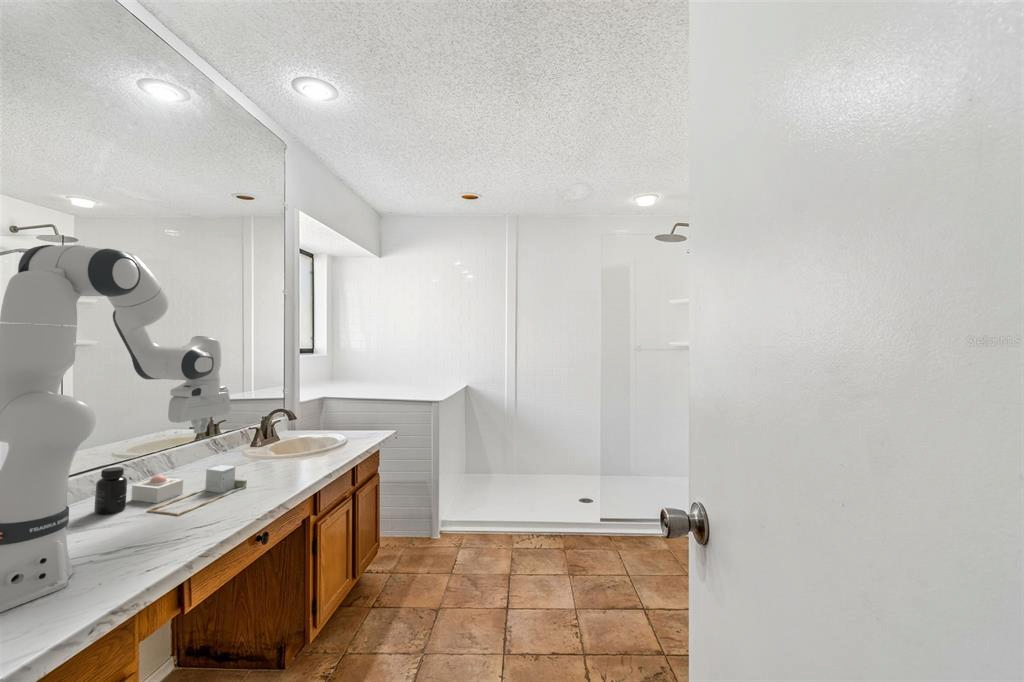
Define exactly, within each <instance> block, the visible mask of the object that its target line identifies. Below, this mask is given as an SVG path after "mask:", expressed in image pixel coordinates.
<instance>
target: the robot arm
mask: <svg viewBox="0 0 1024 682" xmlns="http://www.w3.org/2000/svg"><path fill="white" fill-rule="evenodd" d="M17 270H18V271H17V273H15V274H14V275H13V276H12V277H11V278H10V279H9V281H8V283H7V286H6V289H5V292H4V295H3V299H2V304H1V310H0V442H2V443H6V444H8V450H7V453H6V456H5V459H4V462H3V464H2V465H1V468H0V613H2V612H5V611H7V610H11V609H12V608H13V609H14V608H16V607H17V606H20V605H23V604H25V603H28V602H31V601H33V600H36V599H38V598H42V597H43V596H46V595H49V594H51V593H54V592H57V591H58V590H62V589H64V588H66V587H67V586H68V585H69V580H68V579H69V578H70V577H71V576H72V575H73V574H74V568H73V565H72V563H71V560H70V555H69V550H68V542H67V527H68V525H69V523H70V522H69V521H70V507H69V505H68V504H67V503H68V492H69V491H68V490H69V478H70V477H69V476H70V472H71V467H72V464H73V461H74V459H75V456H76V454H77V451H78V449H79V447H80V445H81V444H82V443H83V442H84V441H85V440H87V439H88V438H89V437H90V436H91V434H92V433H93V431H94V430H95V427H96V425H97V424H96V423H97V422H96V421H97V416H96V413H95V411H94V409H93V408H92V407H91V406H90V405H88V404H86V403H85V402H83V401H81V400H80V399H77V398H75V397H72V396H70V395H67V394H59V388H60V386H61V383H62V381H63V379H64V375H66V372H67V371H68V370H69V369H70V368H71V367H72V366H73V365H74V364H75V360H76V351H77V350H76V349H77V329H78V310H77V309H78V307H77V303H78V301H79V299H80V298H81V297H106V298H107V299H108V301H109V302H110V303H111V305H112V306H113V308H114V310H113V312H112V321H113V324H114V327H115V329H116V331H117V332H118V334H119V337H120V338H121V340H122V342H123V344H124V346H125V347H126V349H127V351H128V353H129V355H130V357H131V361H132V366H133V369H134V371H135V372H136V374H137V375H138V376H140V377H141V378H142V379H144V380H150V381H151V380H174V381H178V380H179V381H185V382H183V383H182V384H180V385H177V386H176V387H173V388H171V389H170V396H172V397H171V398H170V399H169V403H168V412H167V419H168V420H169V422H171V423H178V424H180V423H185V422H190V423H191V425H192V427H193V433H194V434H203V433H206V432H207V429H208V428H207V427H208V425H209V424H210V422H211V417H213V418H214V417H218V416H223V415H228V414H229V413H230V411H231V400H230V399H231V397H230V394H229V389H228V388H227V387H226V386H224V385H223V386H222V385H221V377H220V370H221V366H222V347H221V343H220V340H218V339H216V338H214V337H209V336H204V335H203V336H201V335H196V336H192V337H191V339H190V341H189V343H187V344H185V345H183V346H163V345H161V344H157V343H155V342H153V340H152V339H151V337H150V334H149V332H148V330H147V328H146V327H148V326H150V325H152V324H154V323H157V322H158V321H159V320H160V319H161V318H163V317H164V316H165V314H166V313H167V311H168V308H169V305H170V304H169V299H168V296H167V294H166V292H165V290H164V288H163V286H161V284H160V281H158V280H157V278H156V276H155V275H154V274H153V272H151V270H150V269H149V268H148V266H146V264H145V263H144V262H143V261H142V260H141V259H140V258H139V257H137V256H136V255H135V254H132V253H130V252H127V251H126V252H125V251H121V250H117V249H112V248H101V247H100V248H99V247H93V246H92V247H91V246H85V245H80V244H79V245H78V244H77V245H76V244H75V245H74V244H67V245H66V244H63V245H62V244H61V245H55V244H42V245H38V246H35V247H32V248H29V249H27V250H26V251H24V253H23V255H22V256H21V257H20V259H19V263H18V267H17Z"/></svg>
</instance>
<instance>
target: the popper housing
mask: <svg viewBox="0 0 1024 682" xmlns="http://www.w3.org/2000/svg"><path fill="white" fill-rule="evenodd" d="M166 479H169V480H170V481H169V483H167V484H164V485H161V486H158V487H157V486H148V485H147V482H148V481H150V480H151V479H149V480H145V481H142V482H139V483H136V484H133V485H132V486H131V497H130V498H131V499H130V500H131V501H136V502H144V503H151V502H153V504H159V503H161V501H162V502H164V501H168V500H169V498H170V499H172V498H175V497H177V496H180V495H183V491H184V490H183V489H184V479H180V478H170V477H169V478H168V477H166Z"/></svg>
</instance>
